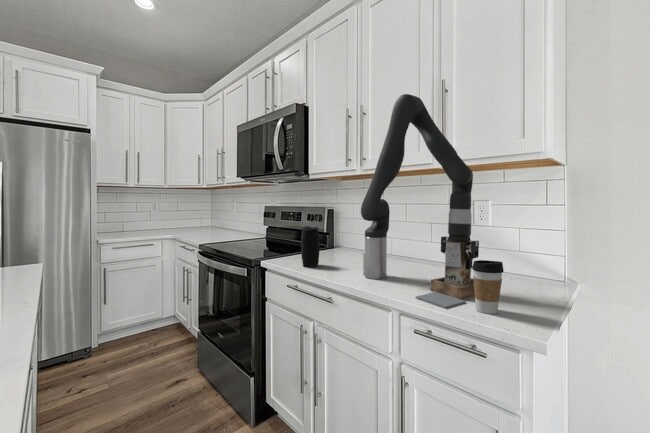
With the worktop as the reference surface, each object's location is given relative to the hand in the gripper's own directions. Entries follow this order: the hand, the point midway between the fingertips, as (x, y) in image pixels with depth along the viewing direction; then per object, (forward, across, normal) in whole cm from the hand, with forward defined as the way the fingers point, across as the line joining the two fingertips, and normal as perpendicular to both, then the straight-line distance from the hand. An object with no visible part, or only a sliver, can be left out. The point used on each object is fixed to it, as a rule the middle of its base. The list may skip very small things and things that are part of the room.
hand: (458, 267), depth 116 cm
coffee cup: (+9, +17, -10) cm, 21 cm away
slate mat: (+9, +3, -14) cm, 17 cm away
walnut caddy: (+9, 0, 0) cm, 9 cm away
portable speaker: (+10, -67, -23) cm, 71 cm away
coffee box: (+7, 0, 0) cm, 7 cm away
